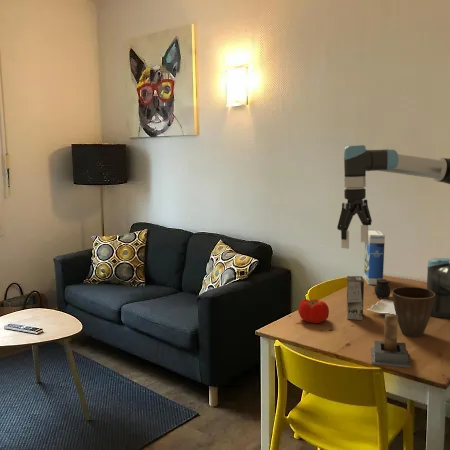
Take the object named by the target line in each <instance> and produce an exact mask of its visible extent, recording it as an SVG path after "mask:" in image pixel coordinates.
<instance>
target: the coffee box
mask: <svg viewBox="0 0 450 450" xmlns="http://www.w3.org/2000/svg"><path fill="white" fill-rule="evenodd" d="M364 292H365V279H364V276H362V275H361V276H360V275H354V276H353V275H348V276H346V319H347V320H357V321H363V319H364V298H365V297H364Z"/></svg>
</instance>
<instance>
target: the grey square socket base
mask: <svg viewBox="0 0 450 450" xmlns="http://www.w3.org/2000/svg"><path fill="white" fill-rule="evenodd" d="M370 360H371V365H375V366H387V367H394V368H395V367H396V368H397V367H398V368H407V369H411V368H412V363H411V360H410V356H409V351H408V349H407V347H406V343H405V342H397V350H396V352H394V351H384V340H374V342H373V347H370Z"/></svg>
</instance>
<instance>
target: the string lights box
mask: <svg viewBox="0 0 450 450" xmlns="http://www.w3.org/2000/svg"><path fill="white" fill-rule="evenodd" d="M385 239H386V235H384V234H383V233H382V232H381V231H380V230H368V243H366V242H364V244H365V245H364V273H363V274H364V275H363V279H364V281H365V282H366V283H367V285H371V286H373V285H374V286H376V284H377V279H384V266H385V265H384V263H385V260H384V259H385V242H386V240H385ZM374 276H375V277H376V278H377V279H376V278H375V277H374Z"/></svg>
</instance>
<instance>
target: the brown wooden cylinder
mask: <svg viewBox="0 0 450 450" xmlns="http://www.w3.org/2000/svg"><path fill="white" fill-rule="evenodd" d="M398 326H399V323H398V316H397V315H396V313H385V315H384V331H383V332H384V334H383V337H384V338H383V341H384V351H394V352H396V350H397V343H398Z"/></svg>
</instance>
